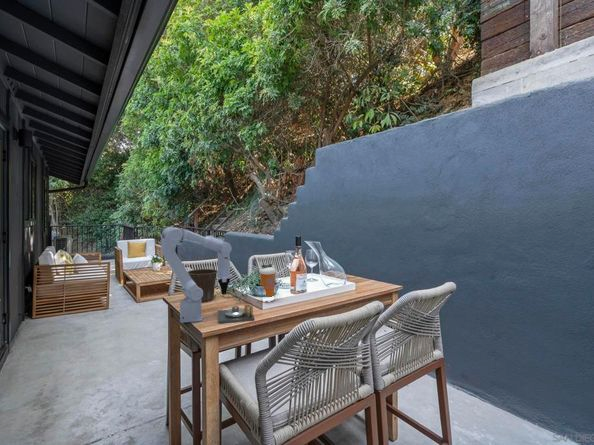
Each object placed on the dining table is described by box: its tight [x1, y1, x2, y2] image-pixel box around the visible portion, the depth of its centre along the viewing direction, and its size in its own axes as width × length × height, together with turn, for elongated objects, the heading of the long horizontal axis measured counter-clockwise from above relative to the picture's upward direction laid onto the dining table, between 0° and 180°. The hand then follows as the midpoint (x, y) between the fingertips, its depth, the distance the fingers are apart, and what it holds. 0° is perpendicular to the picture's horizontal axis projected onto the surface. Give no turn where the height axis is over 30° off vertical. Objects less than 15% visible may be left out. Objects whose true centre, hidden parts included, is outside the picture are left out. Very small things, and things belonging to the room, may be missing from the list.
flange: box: [225, 303, 254, 317], centre depth 152 cm, size 14×10×4 cm
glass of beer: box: [259, 263, 277, 297], centre depth 179 cm, size 9×9×20 cm
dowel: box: [247, 307, 250, 317], centre depth 149 cm, size 2×2×4 cm
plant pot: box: [187, 268, 218, 303], centre depth 182 cm, size 16×16×16 cm
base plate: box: [217, 307, 256, 325], centre depth 152 cm, size 16×16×1 cm
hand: (224, 293), depth 158 cm, fingers closed
